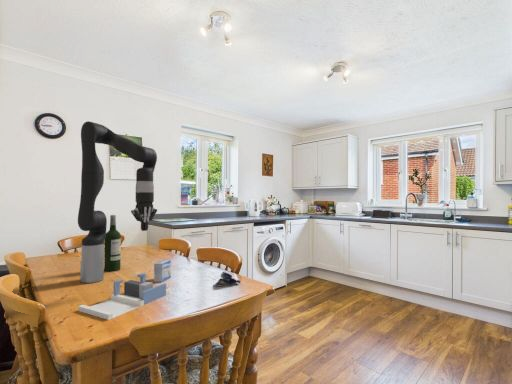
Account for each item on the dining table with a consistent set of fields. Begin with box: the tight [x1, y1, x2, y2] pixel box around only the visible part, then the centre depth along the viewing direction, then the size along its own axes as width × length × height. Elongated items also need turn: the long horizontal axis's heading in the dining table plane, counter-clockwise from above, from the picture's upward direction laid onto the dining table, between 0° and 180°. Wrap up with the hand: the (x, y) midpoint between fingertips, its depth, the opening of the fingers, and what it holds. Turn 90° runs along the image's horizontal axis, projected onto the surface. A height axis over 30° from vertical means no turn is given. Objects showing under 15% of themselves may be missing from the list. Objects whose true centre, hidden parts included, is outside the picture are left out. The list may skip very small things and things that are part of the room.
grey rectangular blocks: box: [123, 279, 154, 299], centre depth 110 cm, size 12×4×5 cm, turn 64°
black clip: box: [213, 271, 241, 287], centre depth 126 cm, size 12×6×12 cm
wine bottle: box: [104, 214, 122, 273], centre depth 151 cm, size 8×8×30 cm
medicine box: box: [153, 259, 172, 283], centre depth 133 cm, size 8×4×9 cm, turn 168°
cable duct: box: [77, 272, 170, 321], centre depth 104 cm, size 16×26×7 cm, turn 154°
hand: (144, 230), depth 122 cm, fingers closed
